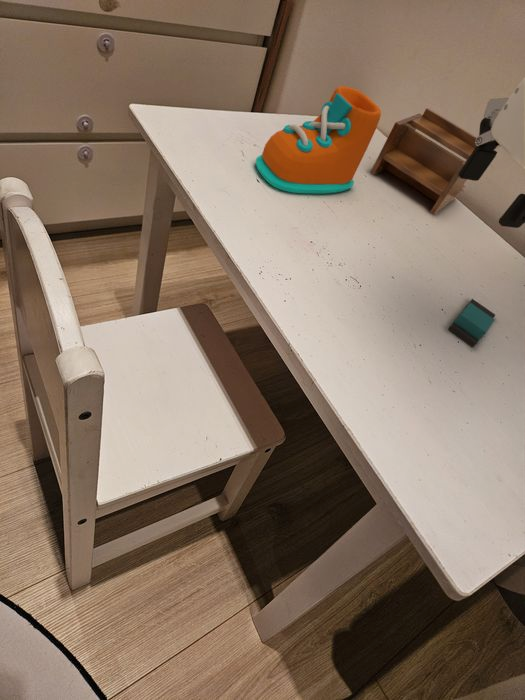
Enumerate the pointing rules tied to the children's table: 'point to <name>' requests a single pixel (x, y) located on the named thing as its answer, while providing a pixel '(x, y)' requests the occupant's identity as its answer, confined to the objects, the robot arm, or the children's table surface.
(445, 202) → the shoe rack
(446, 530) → the children's table surface
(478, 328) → the teal two-tone block
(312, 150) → the toy shoe
